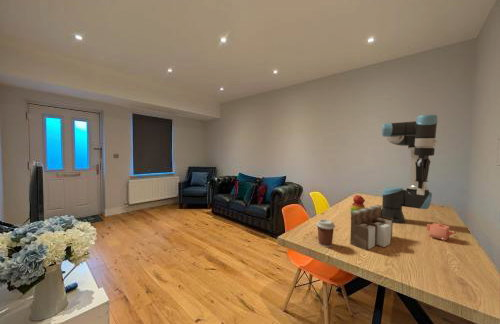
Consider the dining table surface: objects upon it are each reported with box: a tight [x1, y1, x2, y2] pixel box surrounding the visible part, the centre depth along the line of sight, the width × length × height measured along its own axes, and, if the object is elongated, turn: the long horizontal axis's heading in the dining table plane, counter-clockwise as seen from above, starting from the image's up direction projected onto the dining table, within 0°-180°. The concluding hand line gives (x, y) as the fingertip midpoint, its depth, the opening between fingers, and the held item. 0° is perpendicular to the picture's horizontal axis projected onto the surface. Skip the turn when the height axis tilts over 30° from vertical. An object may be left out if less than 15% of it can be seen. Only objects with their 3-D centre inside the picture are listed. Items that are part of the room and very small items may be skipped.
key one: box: [378, 218, 393, 240], centre depth 113 cm, size 6×6×10 cm
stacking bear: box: [350, 194, 366, 213], centre depth 143 cm, size 11×10×18 cm
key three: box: [360, 223, 376, 250], centre depth 103 cm, size 6×6×10 cm
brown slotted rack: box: [349, 204, 394, 251], centre depth 109 cm, size 28×8×17 cm, turn 123°
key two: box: [374, 222, 391, 248], centre depth 106 cm, size 6×6×10 cm
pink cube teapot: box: [426, 222, 457, 242], centre depth 113 cm, size 8×12×8 cm, turn 36°
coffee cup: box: [315, 219, 336, 248], centre depth 105 cm, size 9×9×12 cm
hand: (420, 194), depth 101 cm, fingers closed
